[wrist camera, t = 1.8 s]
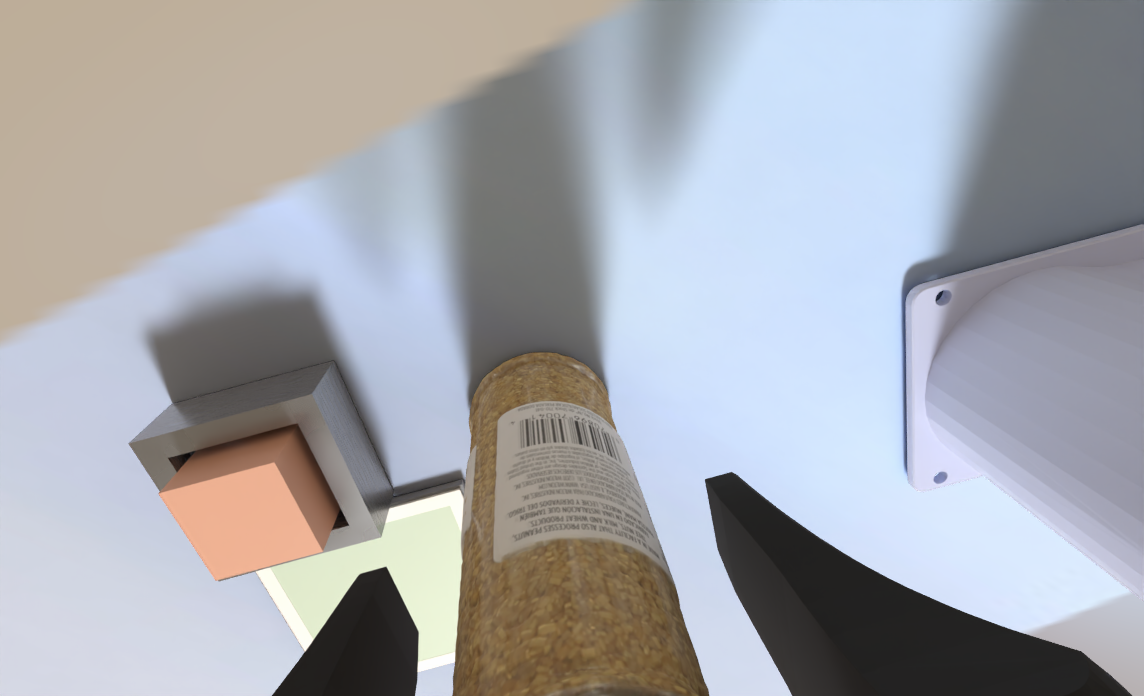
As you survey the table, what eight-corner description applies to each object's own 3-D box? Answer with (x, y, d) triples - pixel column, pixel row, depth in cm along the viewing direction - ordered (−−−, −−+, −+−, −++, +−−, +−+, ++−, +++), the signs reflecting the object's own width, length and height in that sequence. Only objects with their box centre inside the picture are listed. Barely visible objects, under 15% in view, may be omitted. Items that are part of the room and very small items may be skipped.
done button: (299, 422, 17) (274, 462, 15) (341, 505, 18) (322, 551, 16) (196, 449, 17) (158, 493, 15) (245, 531, 18) (215, 580, 16)
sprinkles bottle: (445, 437, 19) (342, 1067, 7) (514, 320, 18) (544, 837, 5) (566, 489, 20) (666, 1096, 8) (638, 385, 19) (890, 918, 7)
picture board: (462, 478, 20) (461, 486, 19) (523, 636, 23) (524, 645, 22) (242, 538, 20) (237, 547, 19) (333, 687, 23) (330, 697, 22)
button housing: (334, 360, 18) (312, 394, 16) (393, 492, 20) (381, 537, 18) (171, 404, 18) (128, 443, 16) (248, 531, 20) (218, 581, 18)
